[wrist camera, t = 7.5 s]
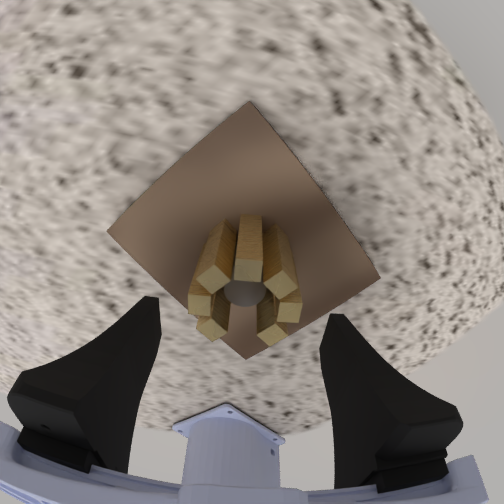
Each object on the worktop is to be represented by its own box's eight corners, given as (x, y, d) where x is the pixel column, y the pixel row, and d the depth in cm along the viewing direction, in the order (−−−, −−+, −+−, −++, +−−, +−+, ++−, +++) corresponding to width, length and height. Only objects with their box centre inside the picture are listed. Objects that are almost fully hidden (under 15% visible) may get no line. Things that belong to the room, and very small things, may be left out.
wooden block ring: (297, 219, 18) (310, 265, 13) (285, 290, 20) (292, 347, 15) (204, 210, 17) (187, 254, 13) (203, 283, 20) (189, 339, 15)
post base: (373, 266, 21) (400, 312, 16) (246, 345, 24) (244, 397, 19) (249, 100, 16) (247, 102, 12) (115, 221, 19) (80, 259, 15)
